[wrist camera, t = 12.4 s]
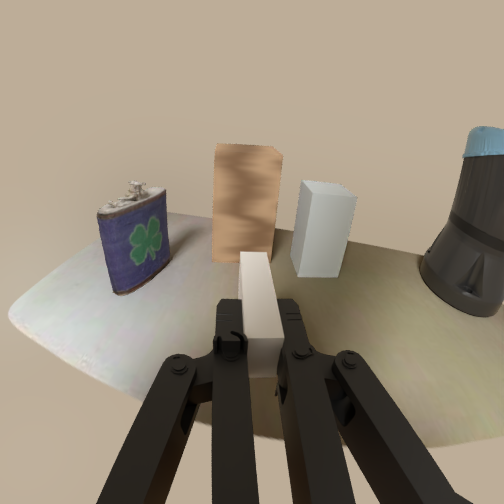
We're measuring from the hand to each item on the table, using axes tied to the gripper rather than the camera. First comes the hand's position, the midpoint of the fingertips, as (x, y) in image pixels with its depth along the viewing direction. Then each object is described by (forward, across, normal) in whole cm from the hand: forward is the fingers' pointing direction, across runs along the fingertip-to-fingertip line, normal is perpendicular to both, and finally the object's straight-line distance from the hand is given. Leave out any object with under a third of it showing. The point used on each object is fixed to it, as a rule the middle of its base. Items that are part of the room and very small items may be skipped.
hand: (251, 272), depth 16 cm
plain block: (+18, 0, -9) cm, 20 cm away
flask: (+11, -11, -9) cm, 18 cm away
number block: (+14, +9, -9) cm, 19 cm away
